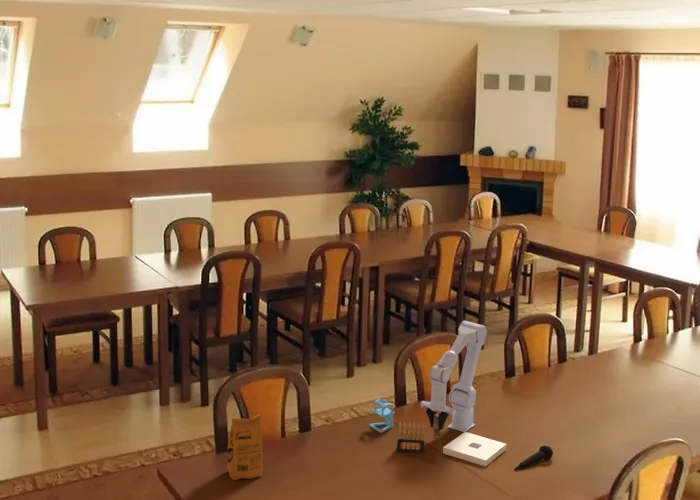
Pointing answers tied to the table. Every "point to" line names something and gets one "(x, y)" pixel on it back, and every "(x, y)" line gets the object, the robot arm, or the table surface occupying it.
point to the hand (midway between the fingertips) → (436, 427)
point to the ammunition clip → (411, 438)
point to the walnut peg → (436, 425)
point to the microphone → (537, 457)
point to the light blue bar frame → (383, 415)
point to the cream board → (474, 448)
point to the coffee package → (245, 448)
